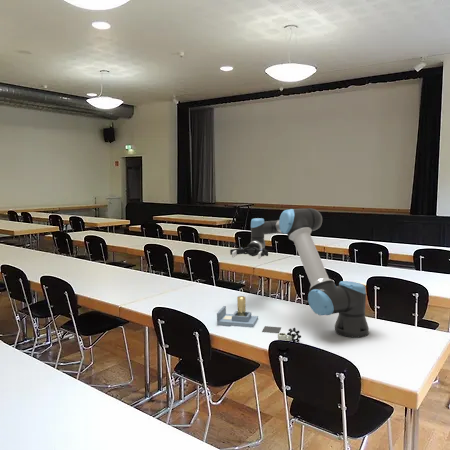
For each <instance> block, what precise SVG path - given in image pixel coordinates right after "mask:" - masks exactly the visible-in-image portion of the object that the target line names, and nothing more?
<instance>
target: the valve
mask: <svg viewBox="0 0 450 450" xmlns="http://www.w3.org/2000/svg"><path fill="white" fill-rule="evenodd" d="M301 338H302V335H300V330H296V327H293V328H289V329H288V332H287V333H286V332H279V333H277V340H285V341H290V342H291V341H296V343H299V342H300V339H301Z"/></svg>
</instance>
